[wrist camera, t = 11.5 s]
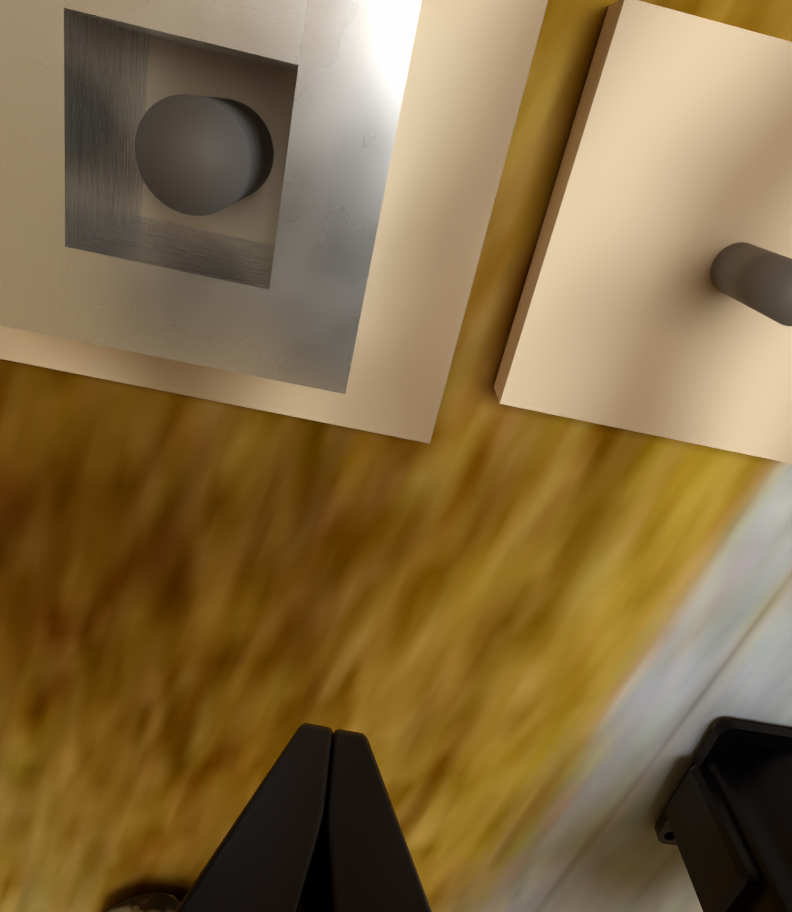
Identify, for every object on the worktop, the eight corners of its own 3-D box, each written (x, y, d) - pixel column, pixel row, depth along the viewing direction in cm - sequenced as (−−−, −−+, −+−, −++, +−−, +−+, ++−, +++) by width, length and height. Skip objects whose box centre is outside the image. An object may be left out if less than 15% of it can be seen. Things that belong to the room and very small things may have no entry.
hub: (564, -98, 14) (628, -179, 10) (427, 425, 19) (435, 500, 15) (-45, -272, 13) (-230, -434, 9) (-12, 337, 18) (-120, 395, 14)
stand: (979, 105, 16) (1154, 102, 12) (794, 449, 19) (884, 524, 16) (608, 5, 15) (677, -31, 11) (493, 386, 19) (516, 451, 15)
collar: (355, 334, 17) (345, 394, 13) (65, 274, 16) (-29, 320, 12) (420, 3, 14) (428, -37, 10) (64, -88, 13) (-63, -166, 9)
